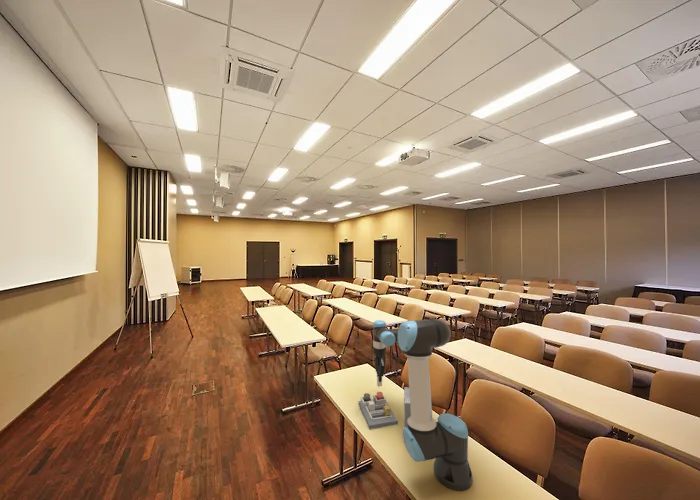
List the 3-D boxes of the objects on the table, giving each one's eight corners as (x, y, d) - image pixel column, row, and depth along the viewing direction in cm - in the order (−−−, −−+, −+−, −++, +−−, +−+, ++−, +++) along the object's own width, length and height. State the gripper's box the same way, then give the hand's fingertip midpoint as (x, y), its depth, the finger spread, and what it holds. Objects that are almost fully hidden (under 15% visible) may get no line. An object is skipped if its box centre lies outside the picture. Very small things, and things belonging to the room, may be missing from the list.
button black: (370, 401, 155) (370, 396, 155) (364, 402, 154) (364, 397, 154) (368, 398, 159) (368, 392, 158) (363, 398, 158) (363, 393, 158)
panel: (397, 424, 142) (397, 415, 142) (369, 429, 138) (369, 419, 138) (383, 400, 163) (383, 392, 163) (358, 404, 160) (358, 396, 159)
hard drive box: (420, 446, 126) (420, 405, 126) (403, 443, 128) (403, 403, 127) (418, 424, 142) (418, 387, 141) (403, 422, 143) (403, 386, 143)
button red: (383, 399, 157) (383, 394, 157) (377, 400, 156) (377, 395, 156) (381, 396, 160) (381, 391, 160) (375, 397, 160) (375, 391, 159)
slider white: (374, 410, 150) (374, 403, 150) (369, 411, 149) (369, 404, 149) (373, 407, 153) (373, 400, 153) (368, 408, 152) (368, 401, 152)
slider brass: (390, 415, 145) (390, 408, 145) (385, 416, 145) (385, 409, 145) (388, 412, 148) (388, 405, 148) (383, 413, 148) (383, 406, 148)
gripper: (389, 350, 152) (389, 390, 153) (381, 342, 165) (381, 379, 165) (377, 351, 150) (377, 392, 151) (370, 343, 163) (370, 381, 164)
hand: (379, 385), depth 158 cm, fingers closed
